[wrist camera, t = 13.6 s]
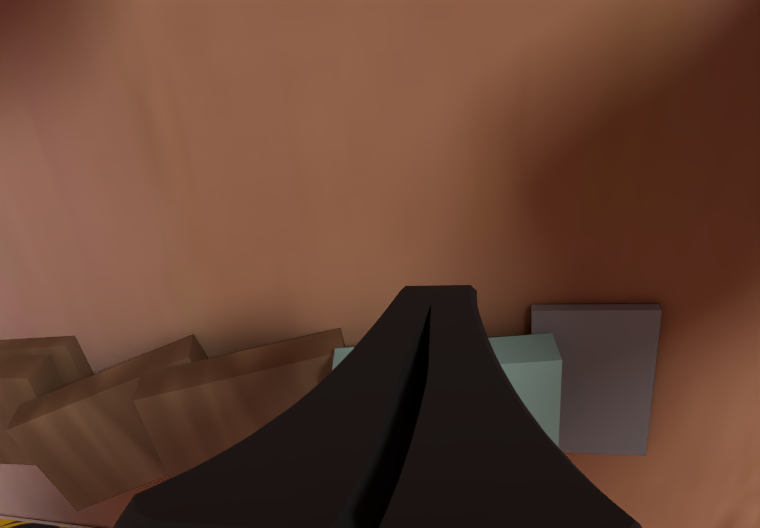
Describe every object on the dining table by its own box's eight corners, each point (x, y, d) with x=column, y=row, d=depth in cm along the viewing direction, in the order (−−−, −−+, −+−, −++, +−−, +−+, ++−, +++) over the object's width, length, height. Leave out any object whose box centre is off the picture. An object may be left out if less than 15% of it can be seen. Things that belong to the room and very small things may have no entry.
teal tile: (562, 360, 23) (331, 375, 23) (557, 465, 25) (348, 477, 26) (552, 333, 24) (334, 348, 25) (549, 435, 27) (351, 447, 27)
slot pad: (659, 303, 23) (661, 310, 23) (643, 448, 27) (645, 455, 26) (531, 304, 24) (531, 310, 24) (532, 444, 28) (532, 451, 27)
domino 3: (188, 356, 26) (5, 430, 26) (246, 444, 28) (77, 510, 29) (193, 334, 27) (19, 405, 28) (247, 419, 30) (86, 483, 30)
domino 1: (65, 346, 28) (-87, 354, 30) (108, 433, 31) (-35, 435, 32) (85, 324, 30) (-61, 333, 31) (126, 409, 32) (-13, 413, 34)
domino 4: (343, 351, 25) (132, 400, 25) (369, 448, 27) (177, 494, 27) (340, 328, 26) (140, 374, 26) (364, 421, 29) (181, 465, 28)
